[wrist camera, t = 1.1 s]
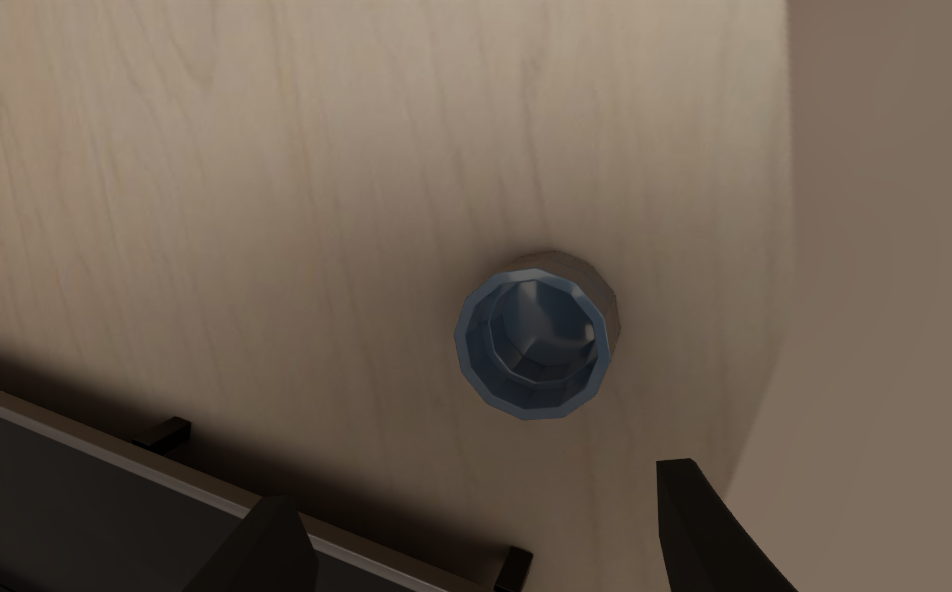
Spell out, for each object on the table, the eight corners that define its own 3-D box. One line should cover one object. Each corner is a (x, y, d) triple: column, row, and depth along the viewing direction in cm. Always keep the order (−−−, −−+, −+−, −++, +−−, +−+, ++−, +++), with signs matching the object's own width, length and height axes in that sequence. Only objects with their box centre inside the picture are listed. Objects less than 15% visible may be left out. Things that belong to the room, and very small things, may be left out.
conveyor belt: (534, 551, 26) (510, 617, 22) (477, 764, 29) (448, 853, 26) (-79, 316, 35) (-170, 336, 31) (-68, 501, 38) (-149, 538, 34)
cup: (648, 329, 23) (642, 364, 19) (544, 402, 24) (520, 446, 21) (561, 223, 23) (538, 236, 19) (464, 304, 25) (426, 330, 21)
